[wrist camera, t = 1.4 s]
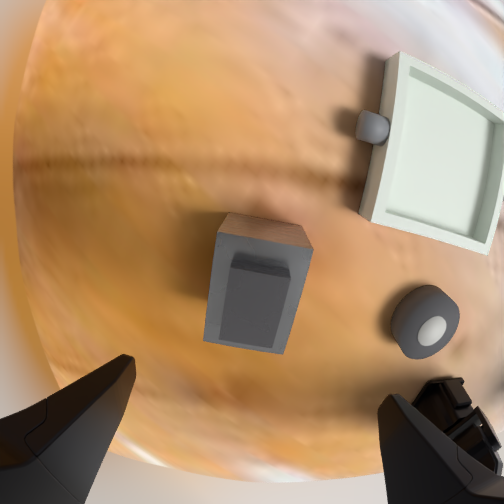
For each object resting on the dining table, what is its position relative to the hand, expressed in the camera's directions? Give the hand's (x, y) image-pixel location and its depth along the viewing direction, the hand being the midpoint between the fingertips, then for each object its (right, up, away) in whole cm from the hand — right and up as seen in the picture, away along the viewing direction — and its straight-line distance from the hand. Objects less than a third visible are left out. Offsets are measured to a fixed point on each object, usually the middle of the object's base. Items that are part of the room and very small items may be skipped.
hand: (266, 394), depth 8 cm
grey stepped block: (0, +4, +12) cm, 12 cm away
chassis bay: (+14, +12, +8) cm, 20 cm away
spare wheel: (+14, -1, +13) cm, 19 cm away
